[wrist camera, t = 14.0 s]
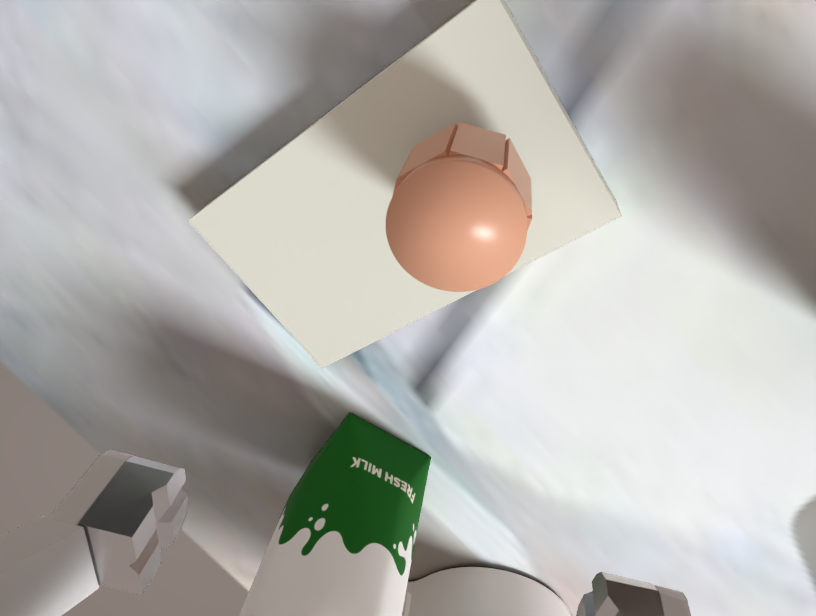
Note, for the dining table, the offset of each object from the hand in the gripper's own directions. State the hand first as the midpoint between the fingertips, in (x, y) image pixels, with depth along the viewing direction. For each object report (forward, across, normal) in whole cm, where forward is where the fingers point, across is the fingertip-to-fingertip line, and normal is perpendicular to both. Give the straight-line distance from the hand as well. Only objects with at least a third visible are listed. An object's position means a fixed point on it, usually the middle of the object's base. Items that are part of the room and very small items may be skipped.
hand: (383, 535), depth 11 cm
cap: (+19, 0, 0) cm, 19 cm away
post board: (+23, +4, +3) cm, 23 cm away
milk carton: (+23, +3, +24) cm, 34 cm away
